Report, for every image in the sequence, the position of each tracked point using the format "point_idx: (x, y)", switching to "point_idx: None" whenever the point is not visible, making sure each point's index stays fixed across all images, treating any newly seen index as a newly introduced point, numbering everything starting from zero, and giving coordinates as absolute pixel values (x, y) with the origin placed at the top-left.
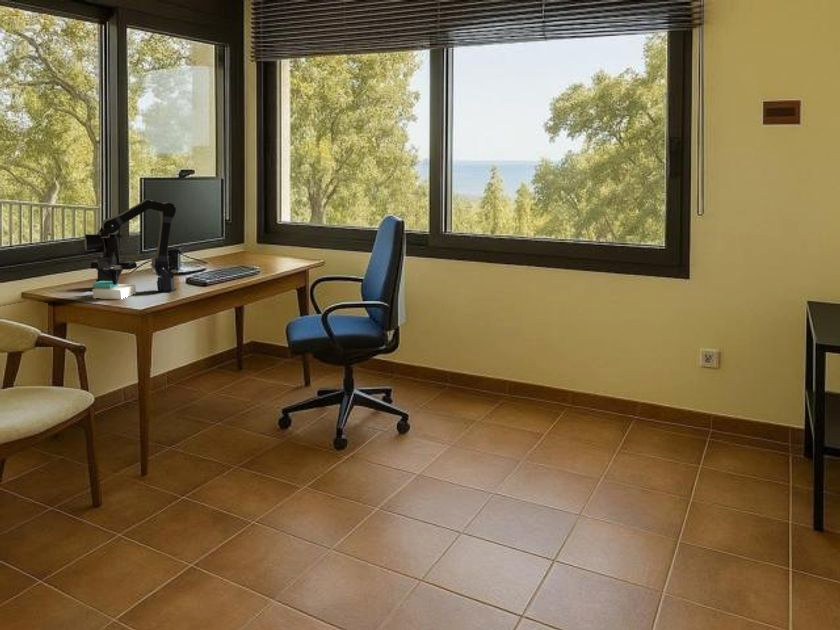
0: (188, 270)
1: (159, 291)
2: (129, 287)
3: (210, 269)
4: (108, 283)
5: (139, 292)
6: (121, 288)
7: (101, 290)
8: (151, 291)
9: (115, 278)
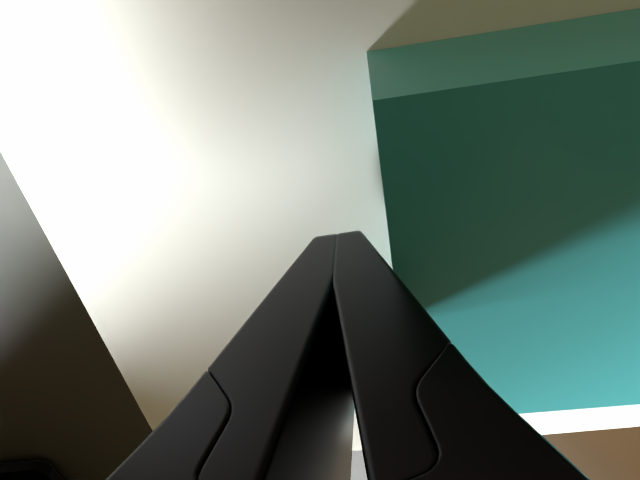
0: None
1: (7, 466)
2: (97, 315)
3: None
4: (466, 148)
5: None
6: (87, 148)
7: None
8: None
9: (238, 349)
